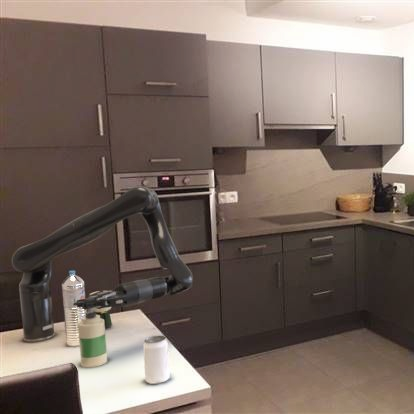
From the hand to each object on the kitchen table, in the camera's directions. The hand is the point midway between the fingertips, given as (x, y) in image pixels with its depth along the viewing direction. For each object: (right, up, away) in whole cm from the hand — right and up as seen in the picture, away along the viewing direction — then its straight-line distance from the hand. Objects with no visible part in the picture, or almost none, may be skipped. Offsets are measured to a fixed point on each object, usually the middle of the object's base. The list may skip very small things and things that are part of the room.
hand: (80, 305), depth 164 cm
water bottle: (-12, -17, +21) cm, 30 cm away
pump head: (+1, -3, +1) cm, 3 cm away
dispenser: (+2, -19, +4) cm, 19 cm away
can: (+27, -20, -8) cm, 34 cm away
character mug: (-11, -15, +37) cm, 42 cm away
